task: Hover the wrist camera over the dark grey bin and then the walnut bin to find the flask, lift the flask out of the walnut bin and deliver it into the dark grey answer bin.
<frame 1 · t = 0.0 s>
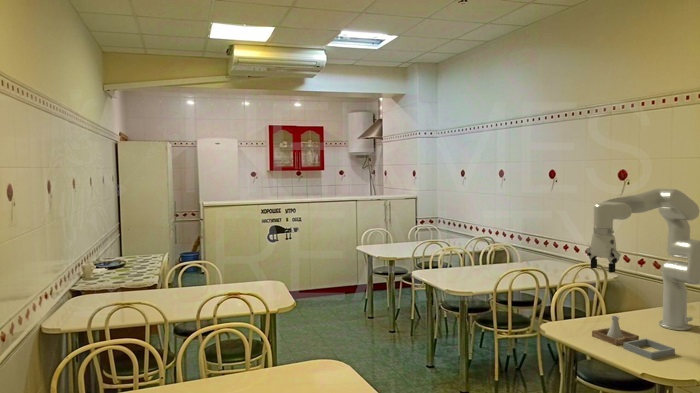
hand: (602, 270, 218), 31 cm above the table, fingers open, 9 cm apart
bin walnut: (614, 338, 220), on the table
bin grey: (648, 351, 205), on the table
flask: (614, 339, 220), resting in bin walnut
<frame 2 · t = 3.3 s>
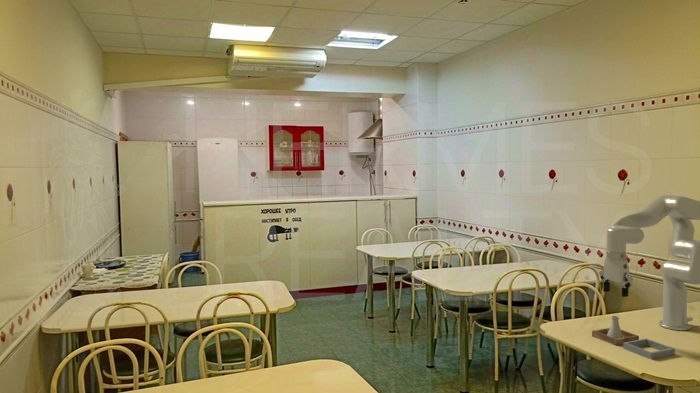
hand: (615, 293, 219), 20 cm above the table, fingers open, 9 cm apart
nothing on the table moved.
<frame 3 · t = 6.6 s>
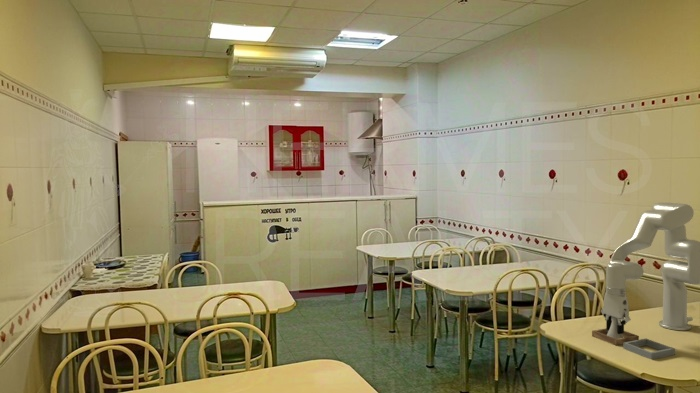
hand: (615, 331, 220), 3 cm above the table, fingers closed on flask, 5 cm apart
flask: (614, 339, 220), resting in bin walnut, touching gripper
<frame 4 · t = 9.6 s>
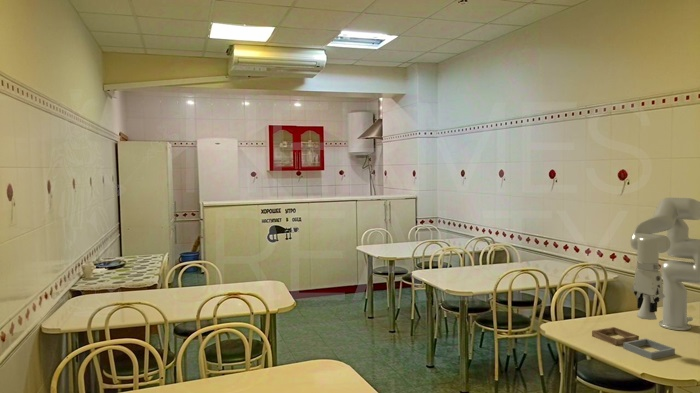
hand: (647, 309, 205), 17 cm above the table, fingers closed on flask, 5 cm apart
flask: (646, 318, 205), point 14 cm above the table, touching gripper
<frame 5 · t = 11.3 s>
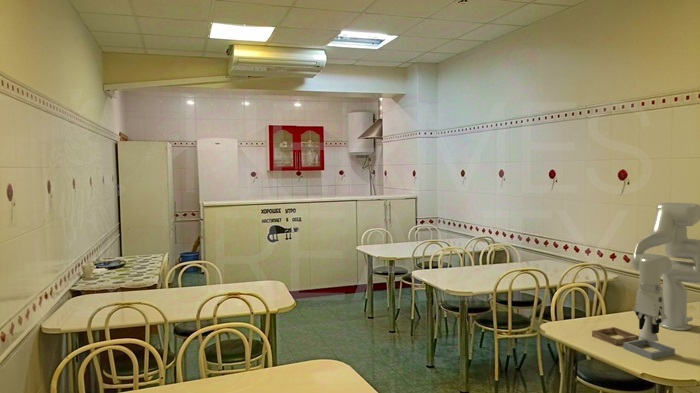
hand: (648, 330, 204), 9 cm above the table, fingers closed on flask, 5 cm apart
flask: (648, 339, 204), point 5 cm above the table, touching gripper
when the fingers open (5 cm above the table, at t = 12.9 s): flask drops 1 cm, resting in bin grey.
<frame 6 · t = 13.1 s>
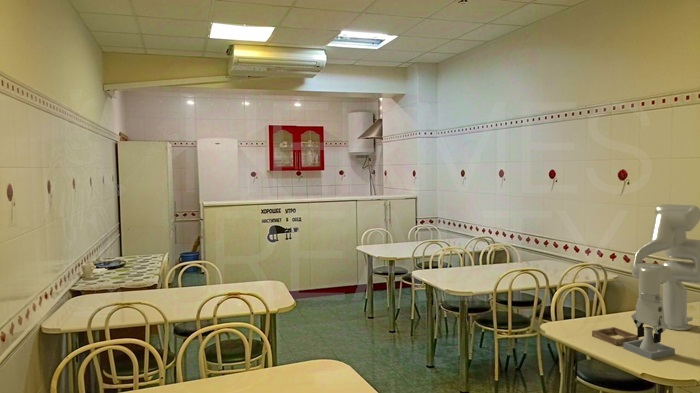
hand: (648, 339, 204), 5 cm above the table, fingers open, 6 cm apart
flask: (648, 352, 205), resting in bin grey
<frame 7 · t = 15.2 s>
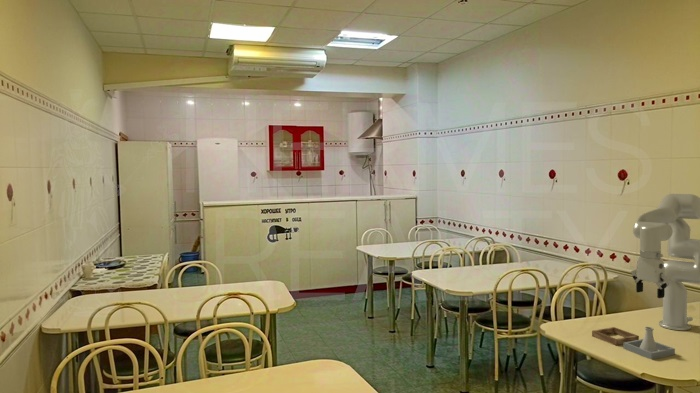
hand: (650, 294, 208), 23 cm above the table, fingers open, 9 cm apart
nothing on the table moved.
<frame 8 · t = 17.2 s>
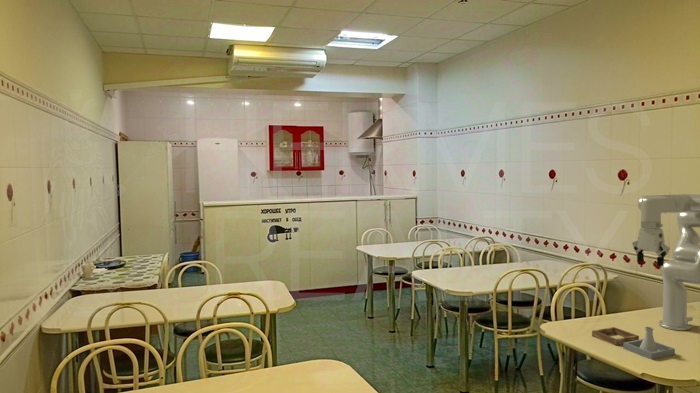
hand: (650, 263, 219), 33 cm above the table, fingers open, 9 cm apart
nothing on the table moved.
at the end: flask inside the target area on the bin grey (0.2 cm from its centre), point 0.0 cm above the bin grey's base; flask tilted 0°; the gripper is holding nothing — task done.
